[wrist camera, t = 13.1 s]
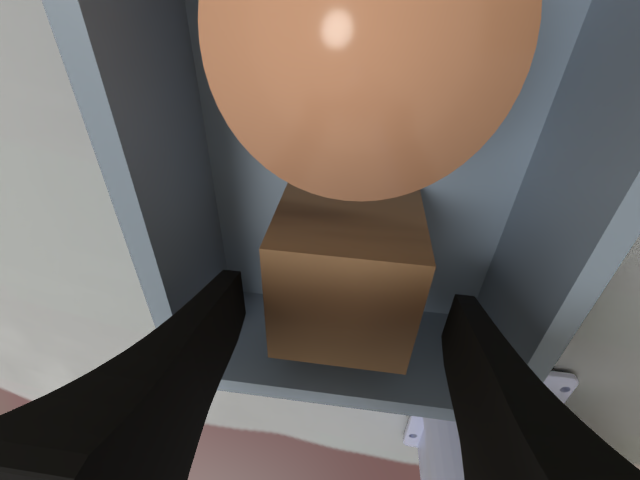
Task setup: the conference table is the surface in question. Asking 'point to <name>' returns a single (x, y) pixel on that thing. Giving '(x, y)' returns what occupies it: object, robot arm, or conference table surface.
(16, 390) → the conference table surface
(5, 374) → the conference table surface
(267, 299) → the walnut cube
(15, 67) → the conference table surface
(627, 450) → the conference table surface
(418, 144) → the terracotta cylinder
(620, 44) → the box
